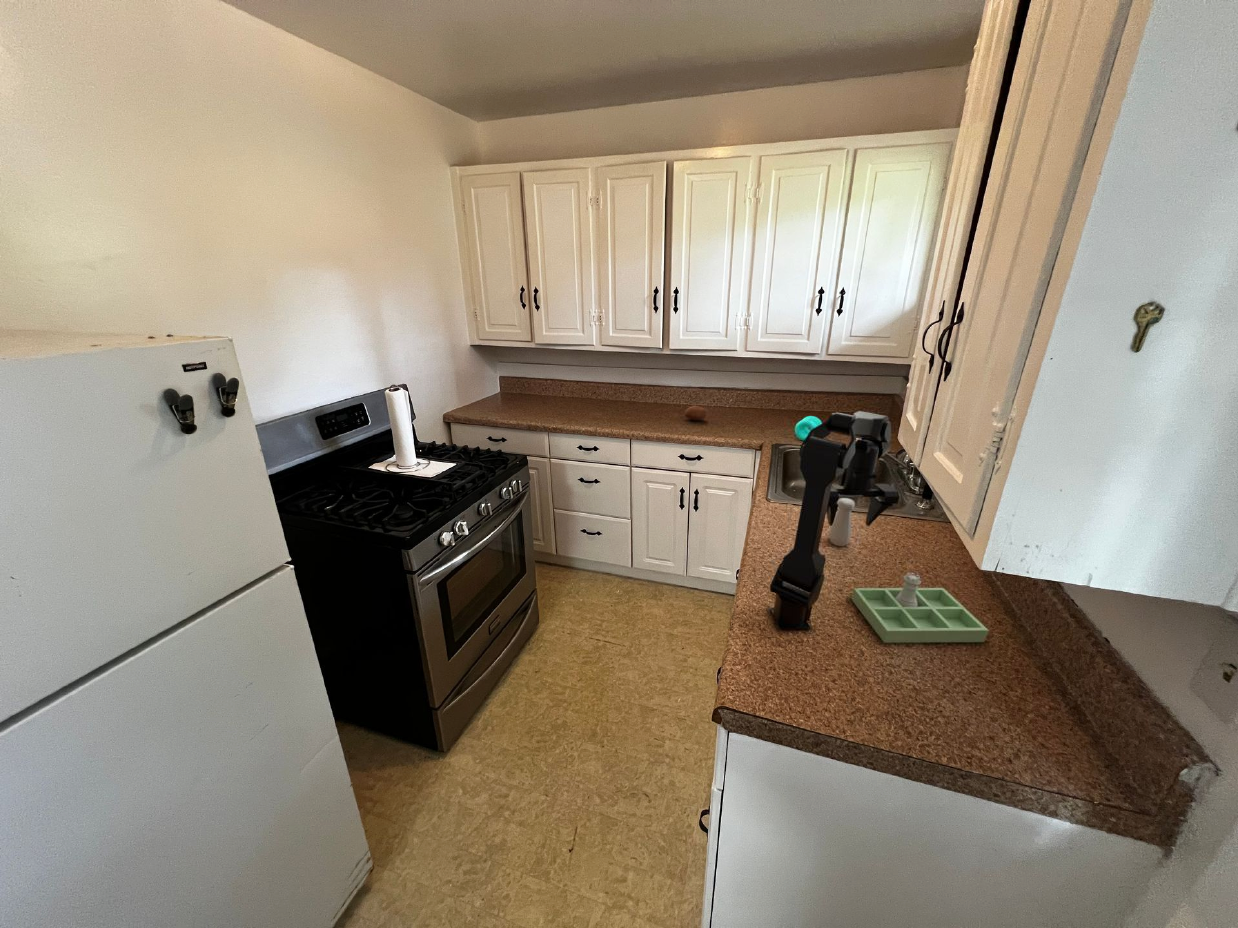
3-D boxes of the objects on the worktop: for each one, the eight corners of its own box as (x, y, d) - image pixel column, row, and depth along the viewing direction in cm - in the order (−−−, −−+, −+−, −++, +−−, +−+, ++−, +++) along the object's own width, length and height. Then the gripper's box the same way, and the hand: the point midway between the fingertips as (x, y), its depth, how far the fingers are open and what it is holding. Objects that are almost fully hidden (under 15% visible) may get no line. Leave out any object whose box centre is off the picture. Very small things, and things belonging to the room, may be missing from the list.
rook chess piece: (895, 597, 109) (903, 567, 106) (918, 605, 106) (927, 575, 103) (891, 607, 105) (899, 576, 102) (914, 615, 103) (923, 584, 100)
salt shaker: (827, 545, 131) (835, 502, 126) (826, 535, 136) (834, 494, 131) (850, 549, 129) (859, 506, 124) (848, 539, 134) (857, 497, 129)
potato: (707, 422, 240) (708, 408, 238) (686, 422, 240) (687, 408, 237) (704, 418, 248) (705, 404, 246) (683, 418, 248) (684, 404, 245)
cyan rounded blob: (821, 438, 219) (825, 417, 215) (815, 444, 211) (819, 422, 208) (799, 434, 224) (802, 413, 221) (792, 439, 217) (795, 418, 213)
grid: (884, 642, 96) (887, 630, 95) (851, 598, 109) (853, 587, 108) (984, 642, 97) (988, 630, 95) (939, 598, 110) (943, 587, 108)
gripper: (882, 453, 119) (869, 510, 125) (808, 453, 118) (798, 510, 124) (908, 470, 109) (893, 531, 114) (827, 470, 108) (816, 531, 114)
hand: (848, 525), depth 117 cm, fingers open, 9 cm apart
